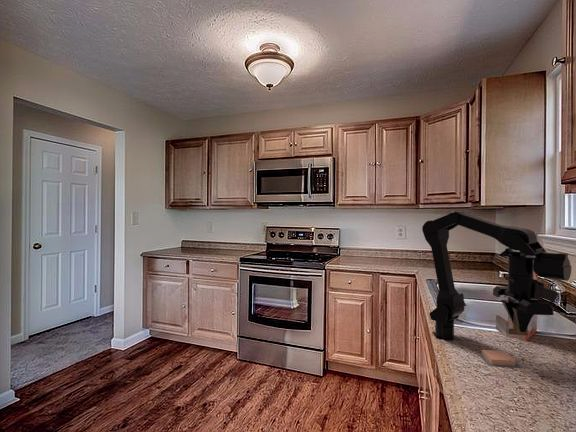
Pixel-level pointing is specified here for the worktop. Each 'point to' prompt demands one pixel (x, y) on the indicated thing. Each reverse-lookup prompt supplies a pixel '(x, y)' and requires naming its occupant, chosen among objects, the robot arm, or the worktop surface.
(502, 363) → the glazed tile
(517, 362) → the slate mat
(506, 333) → the walnut turner
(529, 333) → the cracker box
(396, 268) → the worktop surface
